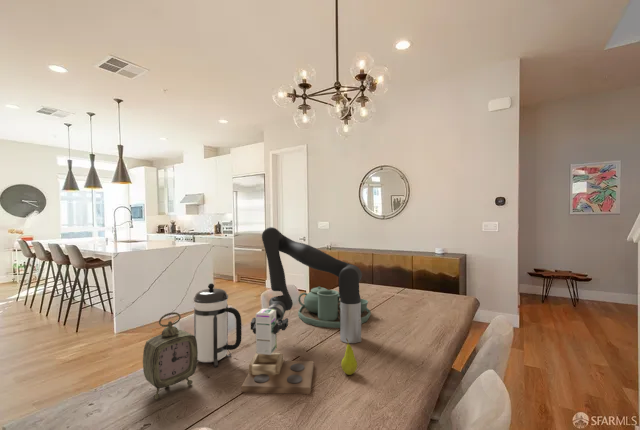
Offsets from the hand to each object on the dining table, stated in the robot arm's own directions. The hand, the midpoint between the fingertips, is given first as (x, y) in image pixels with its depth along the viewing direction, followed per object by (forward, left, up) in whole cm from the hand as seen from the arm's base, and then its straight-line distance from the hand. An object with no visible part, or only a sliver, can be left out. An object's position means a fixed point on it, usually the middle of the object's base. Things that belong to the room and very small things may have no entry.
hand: (264, 331), depth 112 cm
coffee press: (+22, -12, -16) cm, 30 cm away
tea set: (-24, -68, -16) cm, 74 cm away
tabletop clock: (+29, +9, -16) cm, 35 cm away
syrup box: (0, -2, -8) cm, 9 cm away
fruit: (-30, -3, -16) cm, 34 cm away
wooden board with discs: (-6, +1, -16) cm, 17 cm away
